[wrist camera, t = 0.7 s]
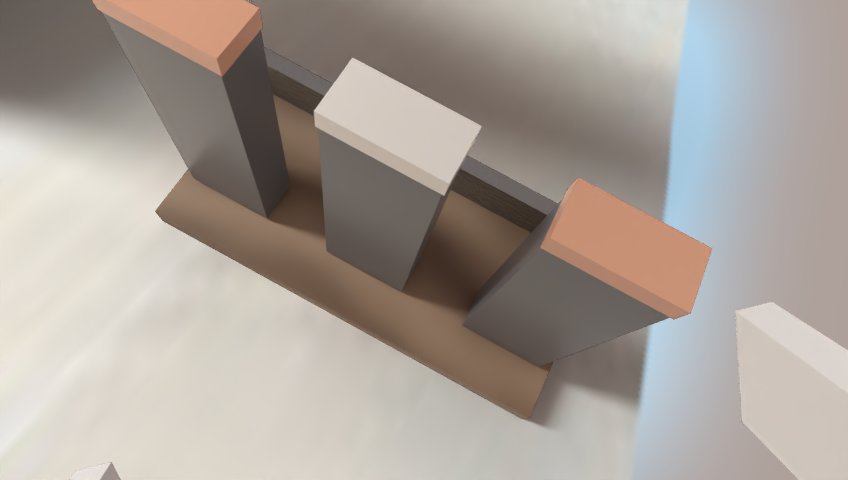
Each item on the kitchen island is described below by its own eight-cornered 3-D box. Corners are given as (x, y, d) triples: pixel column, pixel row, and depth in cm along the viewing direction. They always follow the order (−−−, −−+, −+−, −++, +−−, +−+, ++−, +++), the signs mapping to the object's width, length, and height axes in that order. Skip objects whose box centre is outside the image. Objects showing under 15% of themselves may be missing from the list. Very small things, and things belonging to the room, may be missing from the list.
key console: (521, 418, 33) (548, 415, 29) (162, 220, 34) (138, 189, 30) (589, 260, 37) (620, 237, 33) (266, 86, 38) (257, 43, 34)
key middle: (402, 293, 33) (449, 183, 19) (324, 250, 33) (313, 110, 19) (422, 256, 34) (481, 126, 20) (346, 215, 34) (352, 57, 20)
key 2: (268, 219, 33) (216, 58, 19) (191, 178, 33) (86, -12, 19) (292, 185, 34) (259, 7, 20) (217, 144, 34) (134, -59, 20)
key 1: (539, 368, 33) (690, 313, 19) (460, 324, 33) (550, 238, 19) (556, 329, 33) (712, 248, 20) (478, 287, 34) (578, 177, 20)
